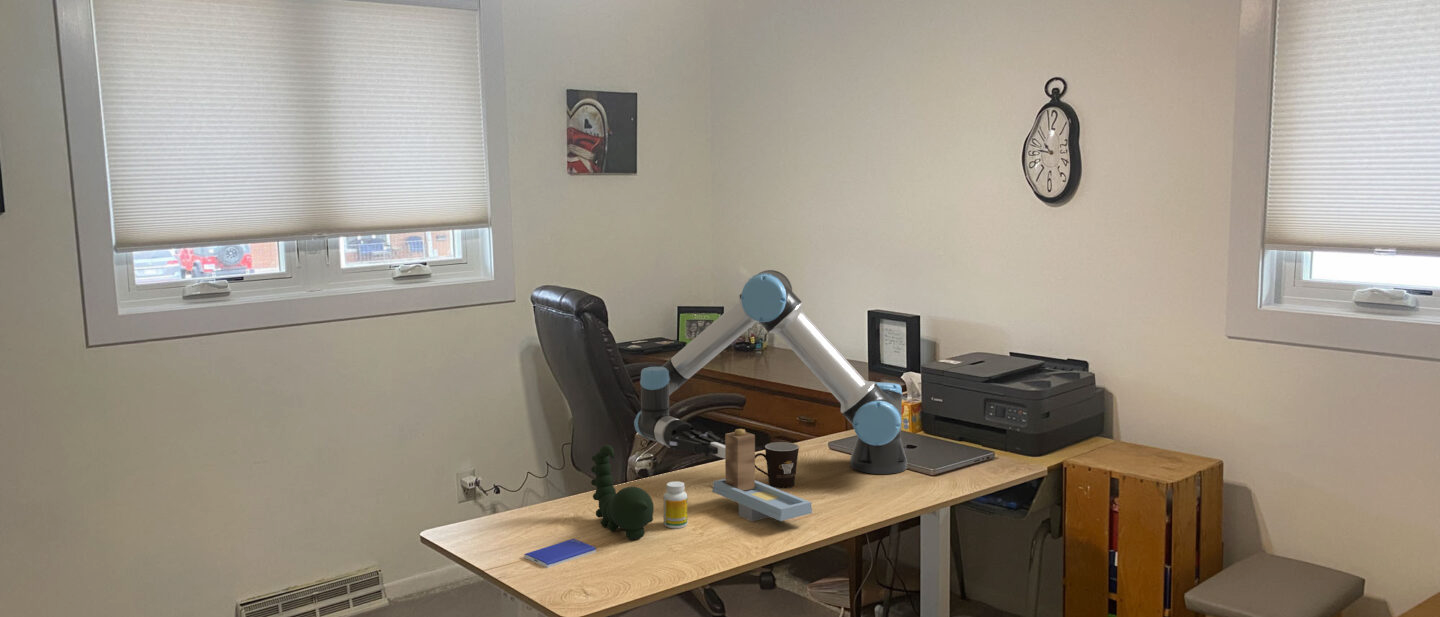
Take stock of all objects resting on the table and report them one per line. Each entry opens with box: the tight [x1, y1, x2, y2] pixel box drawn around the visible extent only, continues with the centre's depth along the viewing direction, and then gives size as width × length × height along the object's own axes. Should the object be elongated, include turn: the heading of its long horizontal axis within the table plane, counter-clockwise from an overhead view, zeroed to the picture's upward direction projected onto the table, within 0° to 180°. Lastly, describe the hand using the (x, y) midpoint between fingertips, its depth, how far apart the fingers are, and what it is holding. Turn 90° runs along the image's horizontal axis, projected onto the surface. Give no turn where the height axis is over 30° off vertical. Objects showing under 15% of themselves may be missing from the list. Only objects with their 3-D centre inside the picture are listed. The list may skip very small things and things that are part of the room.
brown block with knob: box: [724, 428, 756, 491], centre depth 245 cm, size 5×5×14 cm
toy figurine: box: [590, 444, 655, 541], centre depth 228 cm, size 9×19×25 cm
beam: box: [712, 478, 813, 522], centre depth 239 cm, size 26×9×6 cm, turn 35°
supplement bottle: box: [663, 480, 688, 530], centre depth 232 cm, size 5×5×10 cm
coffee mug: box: [755, 441, 800, 489], centre depth 262 cm, size 12×9×10 cm
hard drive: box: [523, 538, 597, 569], centre depth 215 cm, size 2×8×12 cm
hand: (728, 453), depth 248 cm, fingers closed
